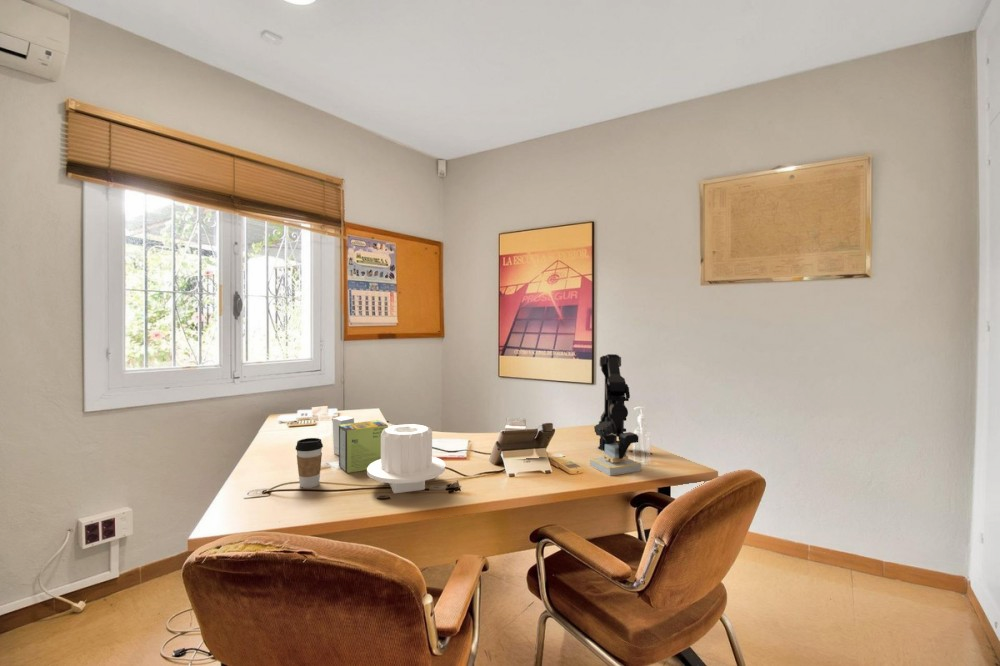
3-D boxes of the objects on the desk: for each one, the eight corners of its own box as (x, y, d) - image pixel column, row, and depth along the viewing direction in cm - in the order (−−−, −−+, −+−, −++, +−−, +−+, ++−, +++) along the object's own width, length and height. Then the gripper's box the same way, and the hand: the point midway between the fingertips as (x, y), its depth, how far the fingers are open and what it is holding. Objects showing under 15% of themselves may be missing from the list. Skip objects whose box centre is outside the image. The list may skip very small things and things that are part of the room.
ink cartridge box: (504, 456, 186) (504, 420, 185) (505, 453, 191) (505, 417, 190) (525, 457, 185) (525, 420, 185) (526, 453, 190) (526, 418, 190)
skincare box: (355, 455, 187) (355, 418, 186) (341, 458, 182) (341, 420, 182) (346, 450, 193) (346, 414, 192) (332, 453, 188) (331, 416, 188)
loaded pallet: (617, 455, 177) (617, 442, 177) (628, 460, 171) (628, 446, 171) (602, 457, 174) (602, 444, 174) (612, 462, 168) (612, 448, 168)
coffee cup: (296, 491, 148) (296, 444, 147) (294, 482, 155) (294, 438, 155) (324, 486, 152) (324, 441, 151) (321, 478, 159) (321, 435, 159)
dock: (619, 461, 181) (619, 454, 181) (641, 470, 170) (641, 463, 170) (589, 465, 175) (590, 458, 175) (609, 475, 164) (610, 468, 164)
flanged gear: (363, 478, 160) (363, 423, 159) (434, 470, 169) (435, 418, 168) (372, 506, 137) (371, 442, 136) (454, 494, 146) (454, 435, 145)
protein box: (388, 466, 173) (388, 424, 173) (346, 473, 165) (346, 430, 164) (378, 458, 182) (378, 419, 181) (338, 465, 173) (338, 424, 173)
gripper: (583, 411, 177) (582, 451, 178) (614, 421, 160) (613, 466, 161) (607, 409, 182) (606, 448, 182) (639, 419, 165) (639, 462, 165)
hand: (615, 456), depth 173 cm, fingers closed on loaded pallet, 6 cm apart
